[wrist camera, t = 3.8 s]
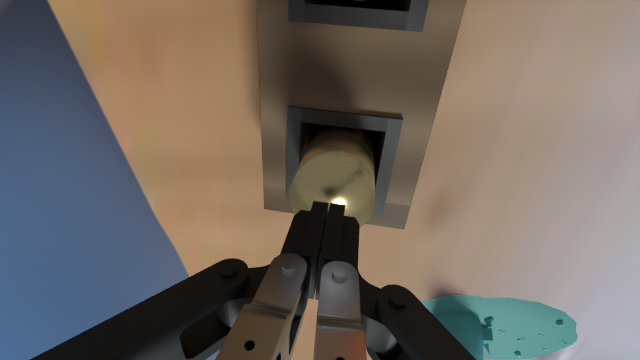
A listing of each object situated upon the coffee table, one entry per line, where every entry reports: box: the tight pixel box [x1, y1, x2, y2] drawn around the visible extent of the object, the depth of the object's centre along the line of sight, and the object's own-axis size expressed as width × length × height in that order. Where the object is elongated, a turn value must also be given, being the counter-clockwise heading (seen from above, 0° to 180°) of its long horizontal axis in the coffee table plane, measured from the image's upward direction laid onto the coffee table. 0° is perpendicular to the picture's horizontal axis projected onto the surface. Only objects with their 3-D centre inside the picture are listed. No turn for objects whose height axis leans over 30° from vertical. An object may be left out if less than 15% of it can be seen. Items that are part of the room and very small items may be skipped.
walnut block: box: [257, 0, 467, 229], centre depth 18 cm, size 20×10×6 cm, turn 176°
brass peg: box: [289, 125, 375, 228], centre depth 18 cm, size 4×4×6 cm
